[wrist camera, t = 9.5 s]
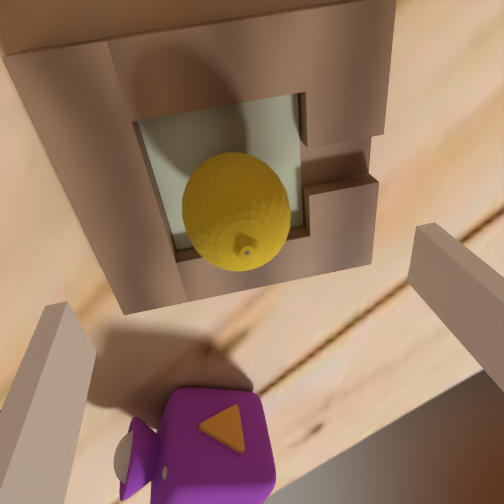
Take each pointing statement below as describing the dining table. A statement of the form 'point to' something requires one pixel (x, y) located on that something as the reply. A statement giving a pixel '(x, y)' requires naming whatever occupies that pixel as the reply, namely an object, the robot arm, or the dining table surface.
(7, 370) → the dining table surface
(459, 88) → the dining table surface
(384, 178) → the dining table surface
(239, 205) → the lemon
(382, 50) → the pocket board
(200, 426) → the toy camera
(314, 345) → the dining table surface
